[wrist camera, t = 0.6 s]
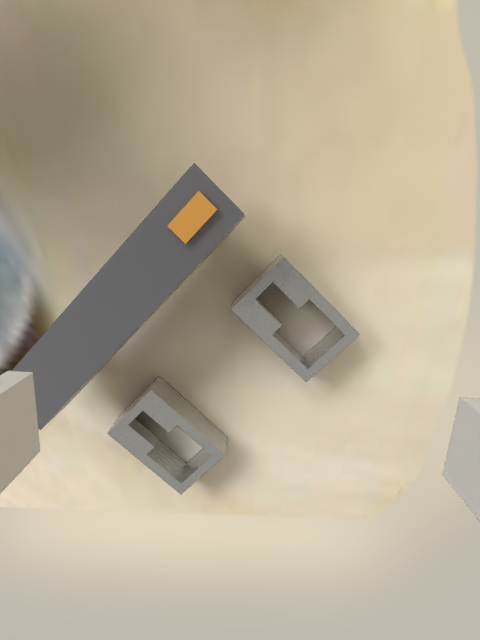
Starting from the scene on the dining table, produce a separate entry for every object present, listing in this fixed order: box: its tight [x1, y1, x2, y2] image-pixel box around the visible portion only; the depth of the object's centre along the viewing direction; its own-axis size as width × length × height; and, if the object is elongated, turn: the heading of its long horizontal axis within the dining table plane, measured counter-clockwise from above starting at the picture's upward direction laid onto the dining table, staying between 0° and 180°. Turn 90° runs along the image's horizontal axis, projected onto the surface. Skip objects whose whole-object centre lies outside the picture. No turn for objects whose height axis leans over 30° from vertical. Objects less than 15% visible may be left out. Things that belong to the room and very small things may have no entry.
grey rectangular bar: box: [12, 163, 245, 430], centre depth 28 cm, size 4×22×8 cm, turn 136°
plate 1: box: [107, 377, 227, 494], centre depth 34 cm, size 9×6×3 cm, turn 46°
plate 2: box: [231, 255, 360, 382], centre depth 31 cm, size 9×6×3 cm, turn 46°
